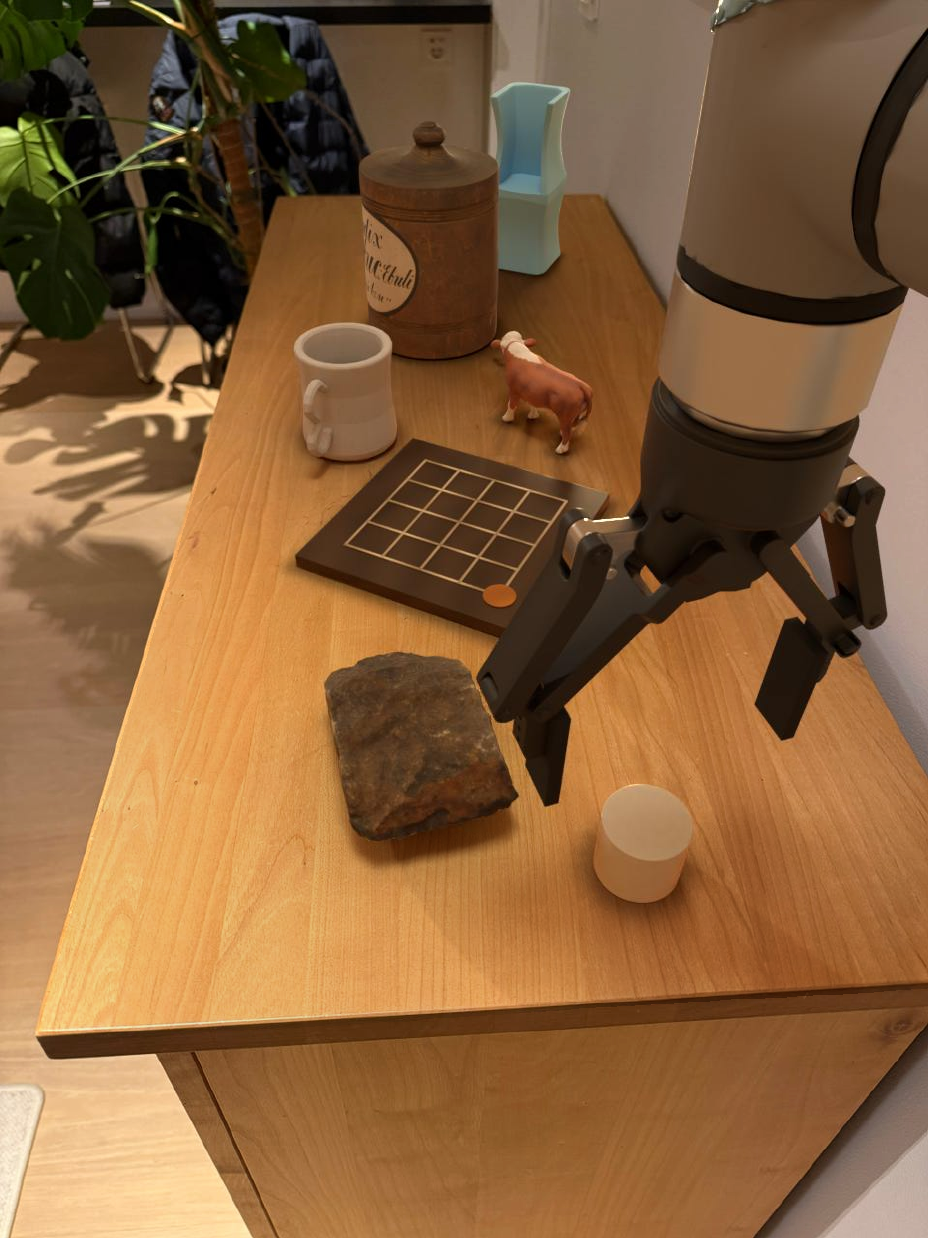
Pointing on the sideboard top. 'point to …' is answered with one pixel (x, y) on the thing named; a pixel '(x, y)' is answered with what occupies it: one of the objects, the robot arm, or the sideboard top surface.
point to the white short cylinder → (642, 842)
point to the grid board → (449, 534)
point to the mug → (346, 391)
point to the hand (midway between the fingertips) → (661, 752)
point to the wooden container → (431, 245)
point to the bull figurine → (543, 387)
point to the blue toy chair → (529, 174)
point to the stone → (414, 746)
